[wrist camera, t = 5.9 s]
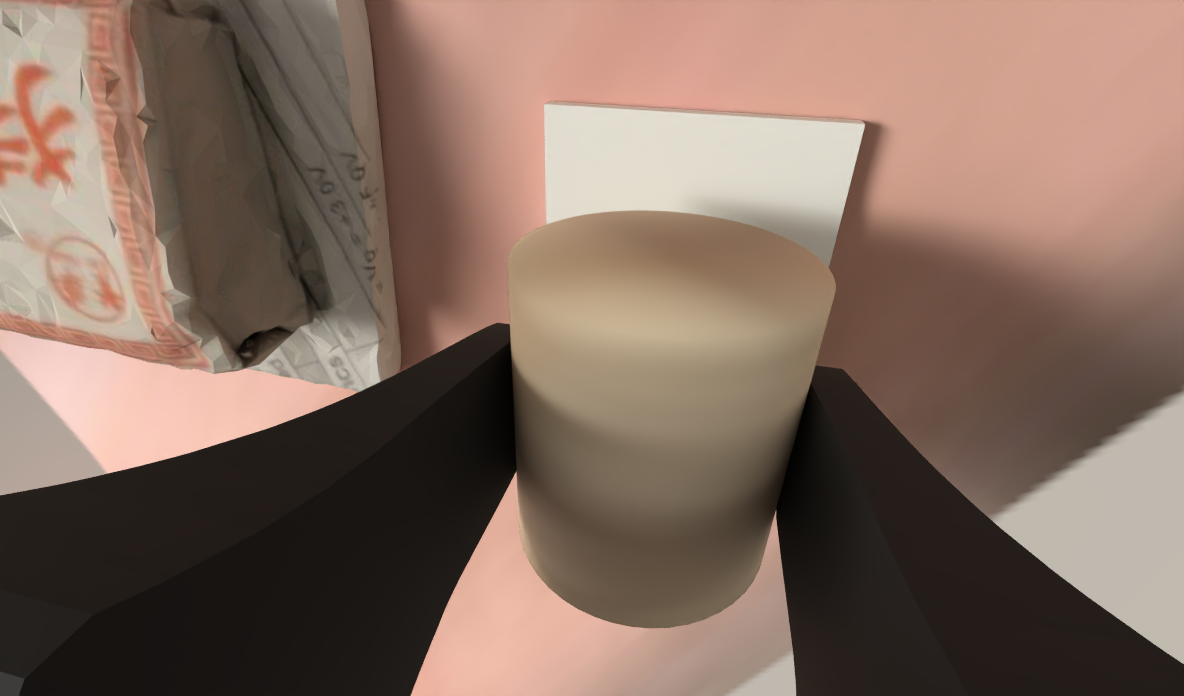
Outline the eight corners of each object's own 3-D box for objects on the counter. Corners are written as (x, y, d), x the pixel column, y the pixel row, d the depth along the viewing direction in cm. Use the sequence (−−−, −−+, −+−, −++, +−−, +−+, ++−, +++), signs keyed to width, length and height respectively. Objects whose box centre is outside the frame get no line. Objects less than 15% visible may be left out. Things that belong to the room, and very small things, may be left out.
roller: (684, 420, 13) (819, 575, 10) (492, 466, 12) (569, 670, 8) (716, 201, 10) (915, 305, 7) (474, 224, 9) (576, 372, 6)
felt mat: (774, 467, 14) (775, 478, 14) (554, 430, 15) (549, 439, 15) (861, 119, 10) (865, 124, 10) (550, 101, 11) (544, 103, 11)
